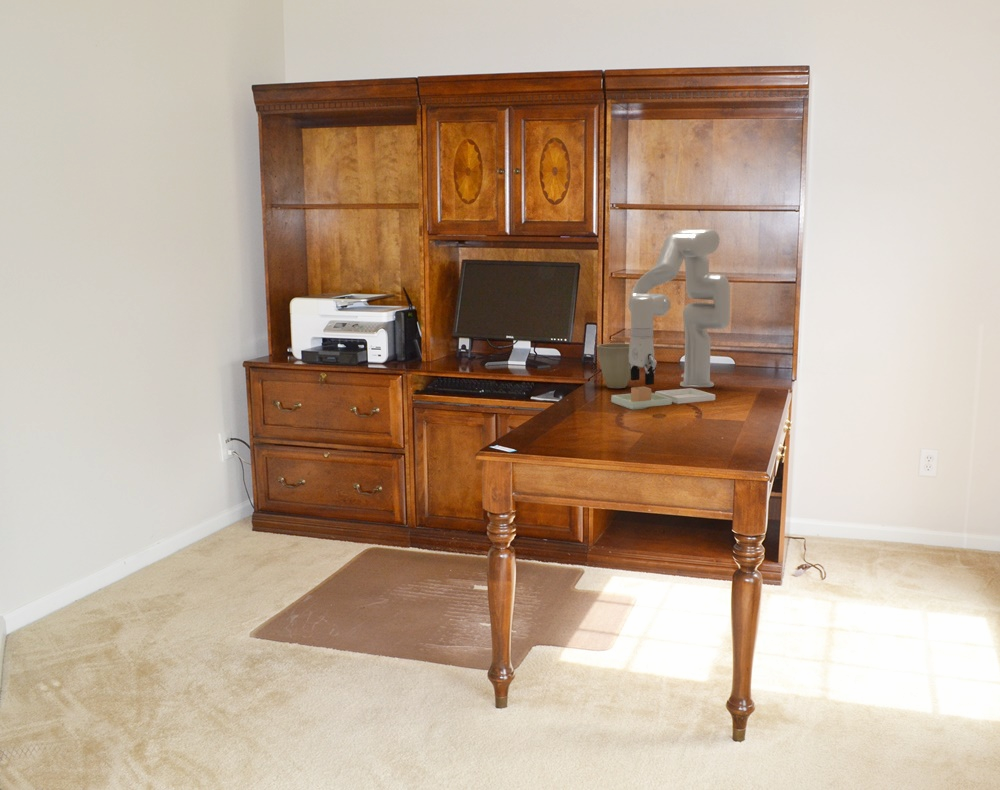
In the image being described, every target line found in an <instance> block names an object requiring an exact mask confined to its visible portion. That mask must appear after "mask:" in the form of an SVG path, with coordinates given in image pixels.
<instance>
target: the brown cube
mask: <svg viewBox="0 0 1000 790" xmlns="http://www.w3.org/2000/svg"><path fill="white" fill-rule="evenodd" d="M630 390H631V391H630V394H631V401H632V402H638V401H649V400H651V393H652V388H650V387H646V386H636V387H635V386H634V387H631V388H630Z"/></svg>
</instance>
